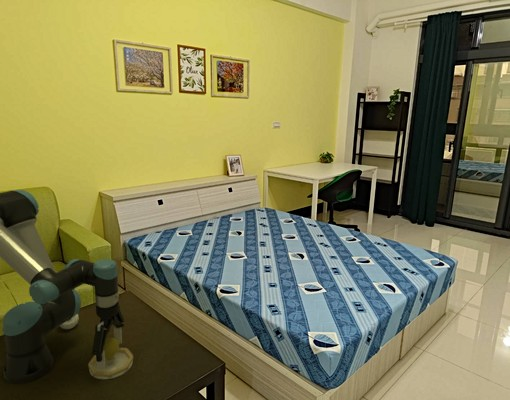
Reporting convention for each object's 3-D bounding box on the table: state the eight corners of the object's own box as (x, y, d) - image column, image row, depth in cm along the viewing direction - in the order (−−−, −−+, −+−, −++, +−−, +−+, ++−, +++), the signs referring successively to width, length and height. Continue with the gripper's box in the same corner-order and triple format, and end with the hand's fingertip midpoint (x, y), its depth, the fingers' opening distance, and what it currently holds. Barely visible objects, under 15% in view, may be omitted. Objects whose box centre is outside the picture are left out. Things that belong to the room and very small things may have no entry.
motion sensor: (58, 334, 147) (56, 318, 145) (58, 325, 153) (56, 309, 152) (79, 329, 151) (78, 313, 149) (78, 320, 157) (77, 304, 155)
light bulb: (123, 358, 134) (122, 335, 131) (113, 370, 127) (111, 346, 125) (107, 355, 135) (106, 332, 133) (96, 367, 129) (94, 343, 126)
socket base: (80, 377, 124) (80, 372, 124) (101, 349, 139) (101, 345, 138) (122, 381, 124) (122, 376, 123) (139, 352, 138) (138, 348, 138)
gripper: (100, 324, 113) (103, 380, 118) (131, 286, 137) (133, 334, 142) (77, 322, 113) (81, 378, 119) (112, 285, 137) (115, 332, 143)
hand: (110, 354), depth 130 cm, fingers open, 13 cm apart
